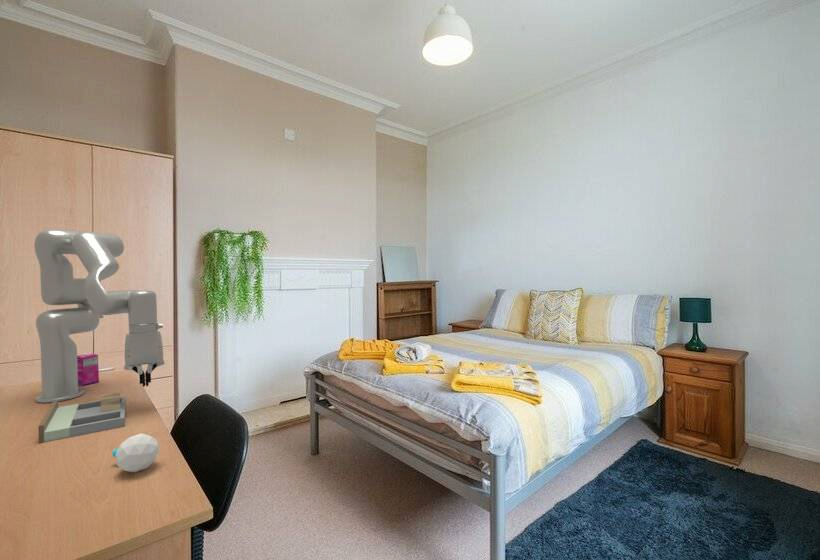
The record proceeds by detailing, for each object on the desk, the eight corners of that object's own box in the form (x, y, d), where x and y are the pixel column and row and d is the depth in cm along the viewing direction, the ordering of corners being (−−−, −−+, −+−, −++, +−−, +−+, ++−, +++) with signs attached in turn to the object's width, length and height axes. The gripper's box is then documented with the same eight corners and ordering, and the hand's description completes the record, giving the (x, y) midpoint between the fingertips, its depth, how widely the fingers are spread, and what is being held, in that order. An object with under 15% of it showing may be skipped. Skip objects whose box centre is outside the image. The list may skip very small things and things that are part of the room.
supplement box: (73, 384, 149) (73, 356, 149) (91, 380, 155) (90, 353, 155) (82, 386, 147) (81, 357, 147) (99, 382, 153) (99, 354, 152)
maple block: (102, 408, 117) (101, 395, 117) (120, 404, 120) (120, 392, 120) (101, 412, 114) (100, 399, 114) (119, 409, 116) (119, 396, 116)
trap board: (53, 415, 118) (53, 401, 117) (125, 403, 128) (125, 390, 128) (38, 442, 99) (38, 426, 99) (124, 426, 110) (124, 410, 110)
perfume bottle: (126, 468, 79) (86, 467, 83) (158, 475, 86) (120, 473, 89) (144, 430, 84) (105, 430, 87) (173, 438, 90) (136, 438, 94)
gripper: (169, 325, 129) (171, 378, 129) (114, 330, 120) (116, 387, 120) (171, 327, 123) (173, 383, 123) (113, 332, 114) (115, 393, 114)
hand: (145, 385), depth 122 cm, fingers closed
